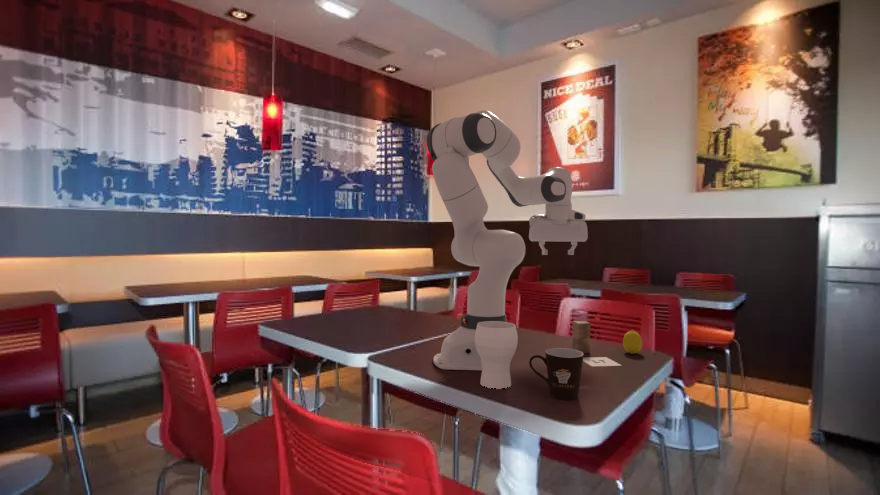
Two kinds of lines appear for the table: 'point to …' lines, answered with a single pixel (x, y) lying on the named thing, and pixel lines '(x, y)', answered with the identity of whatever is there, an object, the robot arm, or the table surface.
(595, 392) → the table surface
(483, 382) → the cup
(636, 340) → the lemon
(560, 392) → the coffee mug
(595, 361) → the tile
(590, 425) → the table surface
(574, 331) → the tall wooden block
